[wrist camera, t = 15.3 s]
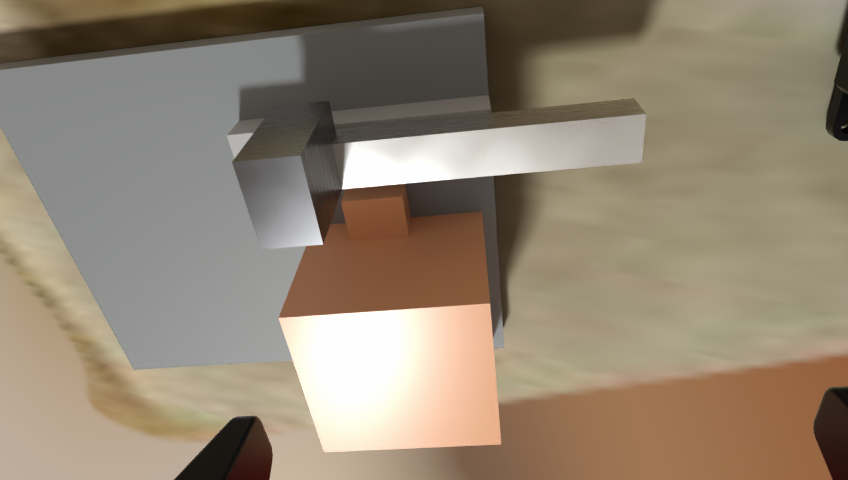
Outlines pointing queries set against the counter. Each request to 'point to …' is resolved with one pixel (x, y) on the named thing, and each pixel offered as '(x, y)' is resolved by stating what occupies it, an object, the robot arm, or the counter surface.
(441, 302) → the cover
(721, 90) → the counter surface
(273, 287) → the latch plate
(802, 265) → the counter surface
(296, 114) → the latch bolt
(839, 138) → the robot arm
